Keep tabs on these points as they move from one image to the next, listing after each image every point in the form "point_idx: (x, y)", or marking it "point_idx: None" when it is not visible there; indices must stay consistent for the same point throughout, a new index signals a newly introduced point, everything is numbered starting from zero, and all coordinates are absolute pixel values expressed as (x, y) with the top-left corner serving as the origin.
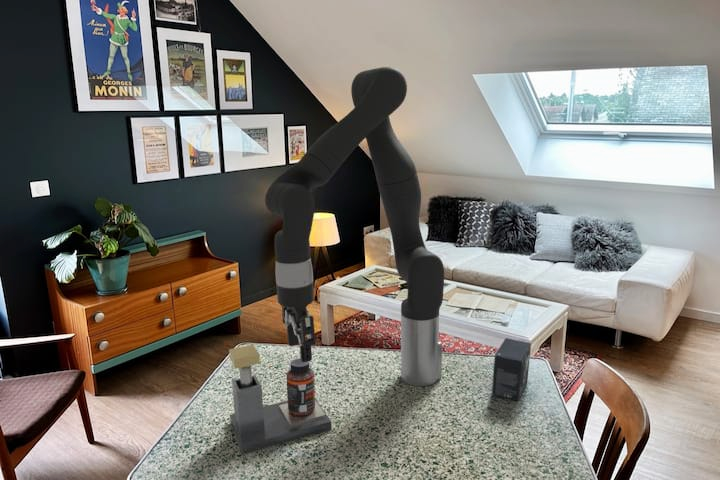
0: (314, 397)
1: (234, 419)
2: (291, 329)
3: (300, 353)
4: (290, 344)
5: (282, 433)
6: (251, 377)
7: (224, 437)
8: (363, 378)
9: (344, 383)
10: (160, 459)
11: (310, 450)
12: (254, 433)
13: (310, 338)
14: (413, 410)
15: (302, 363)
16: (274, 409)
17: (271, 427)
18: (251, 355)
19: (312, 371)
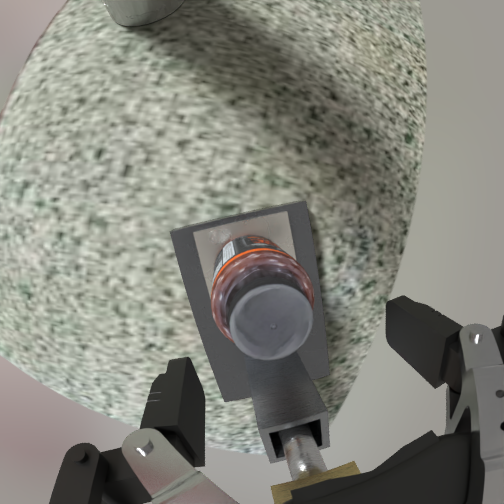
0: (267, 240)
1: (242, 394)
2: (187, 453)
3: (411, 361)
4: (201, 394)
5: (320, 311)
6: (311, 443)
7: None
8: (102, 97)
9: (108, 142)
10: None
11: (351, 253)
12: (302, 360)
13: (493, 346)
14: (267, 29)
15: (290, 315)
16: None
17: None
18: None
19: (271, 258)
